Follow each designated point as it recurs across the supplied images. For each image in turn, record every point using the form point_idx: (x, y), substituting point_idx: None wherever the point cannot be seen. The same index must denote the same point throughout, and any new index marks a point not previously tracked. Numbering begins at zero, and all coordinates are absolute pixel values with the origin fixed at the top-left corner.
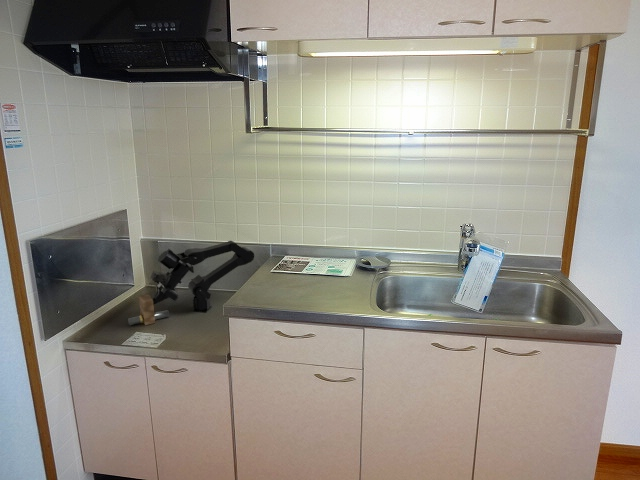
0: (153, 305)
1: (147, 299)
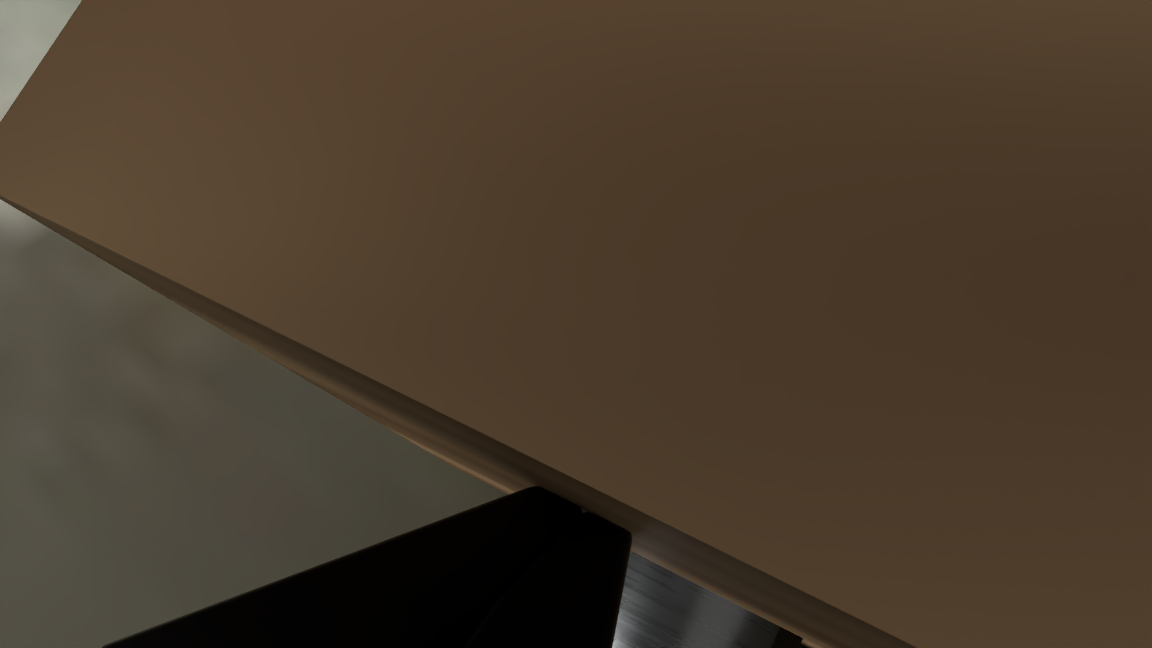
0: (160, 291)
1: (416, 77)
